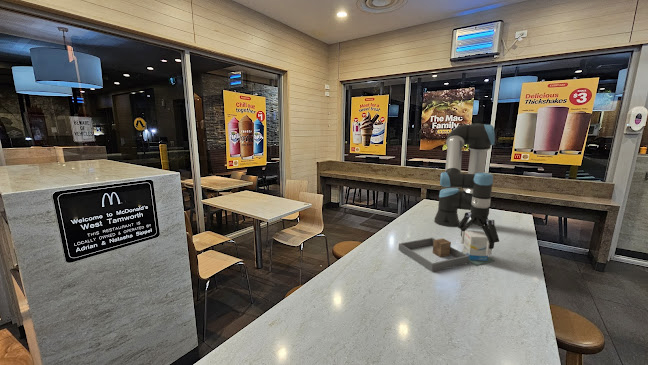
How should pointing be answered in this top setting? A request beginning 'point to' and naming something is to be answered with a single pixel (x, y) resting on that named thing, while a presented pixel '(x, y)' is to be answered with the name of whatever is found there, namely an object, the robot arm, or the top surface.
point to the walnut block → (441, 247)
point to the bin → (405, 249)
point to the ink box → (475, 245)
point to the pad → (477, 262)
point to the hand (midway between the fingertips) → (475, 248)
